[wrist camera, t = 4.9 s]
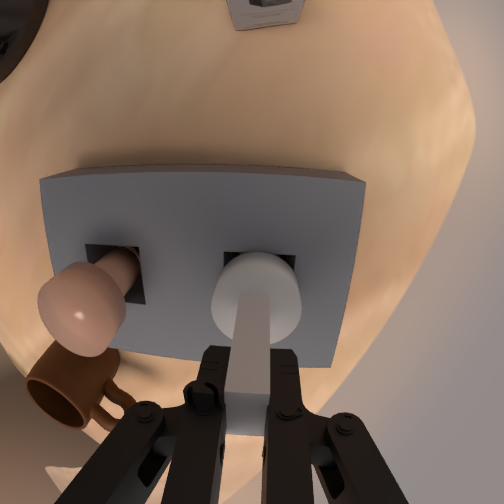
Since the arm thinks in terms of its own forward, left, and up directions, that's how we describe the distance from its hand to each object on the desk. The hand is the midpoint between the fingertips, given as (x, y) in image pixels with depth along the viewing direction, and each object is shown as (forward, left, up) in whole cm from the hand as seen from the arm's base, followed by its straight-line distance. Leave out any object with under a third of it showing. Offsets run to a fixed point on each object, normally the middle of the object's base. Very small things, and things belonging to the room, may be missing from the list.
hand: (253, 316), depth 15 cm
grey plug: (0, 0, -8) cm, 8 cm away
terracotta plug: (0, -10, -5) cm, 11 cm away
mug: (+13, -16, -9) cm, 23 cm away
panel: (0, -5, -9) cm, 10 cm away
